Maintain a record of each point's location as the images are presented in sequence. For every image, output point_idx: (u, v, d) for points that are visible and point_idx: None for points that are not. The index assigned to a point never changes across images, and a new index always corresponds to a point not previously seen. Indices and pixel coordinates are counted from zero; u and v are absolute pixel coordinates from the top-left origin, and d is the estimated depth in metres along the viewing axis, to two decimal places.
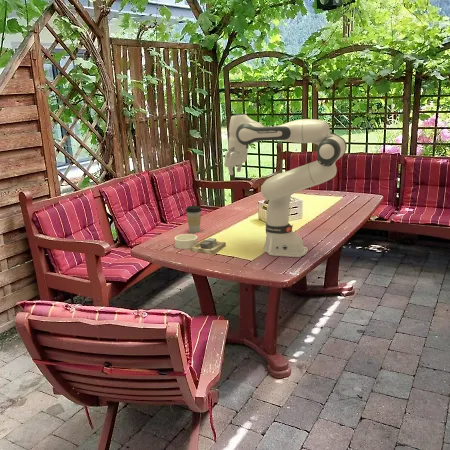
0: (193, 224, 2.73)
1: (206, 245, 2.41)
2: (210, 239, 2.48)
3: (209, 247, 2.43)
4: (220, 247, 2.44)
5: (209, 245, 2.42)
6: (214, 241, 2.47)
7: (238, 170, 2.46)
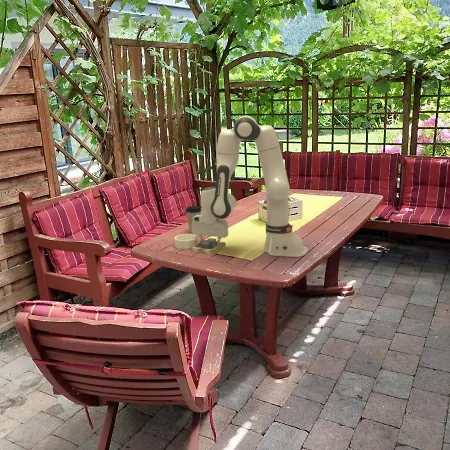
0: None
1: (206, 245, 2.41)
2: (210, 239, 2.48)
3: (209, 247, 2.43)
4: (220, 247, 2.44)
5: (209, 245, 2.42)
6: (214, 241, 2.47)
7: (203, 240, 2.50)
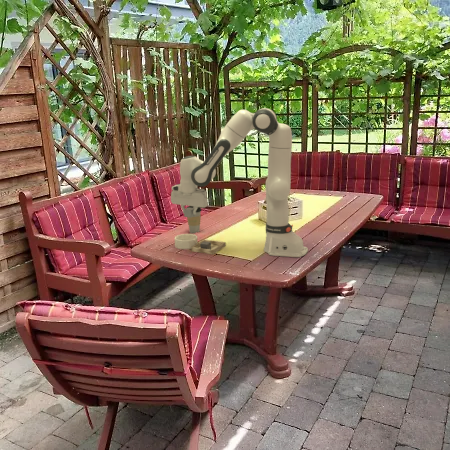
0: (193, 224, 2.73)
1: (206, 245, 2.41)
2: (188, 208, 2.46)
3: (209, 247, 2.43)
4: (220, 247, 2.44)
5: (209, 245, 2.42)
6: (192, 210, 2.45)
7: None
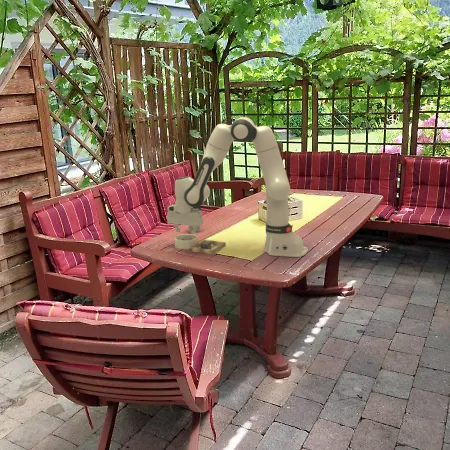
0: None
1: (206, 245, 2.41)
2: (185, 238, 2.51)
3: (209, 247, 2.43)
4: (220, 247, 2.44)
5: (209, 245, 2.42)
6: None
7: (179, 230, 2.52)
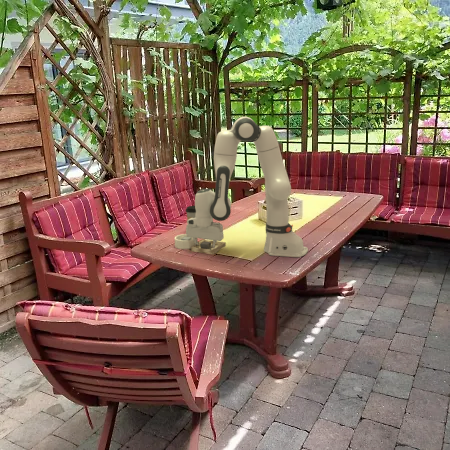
0: None
1: (206, 245, 2.41)
2: (185, 238, 2.51)
3: (209, 247, 2.43)
4: (220, 247, 2.44)
5: (209, 245, 2.42)
6: None
7: (198, 244, 2.45)
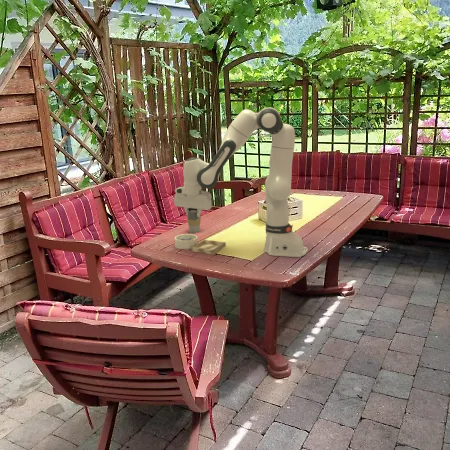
0: (193, 224, 2.73)
1: (194, 213, 2.40)
2: (185, 238, 2.51)
3: None
4: (220, 247, 2.44)
5: None
6: None
7: None
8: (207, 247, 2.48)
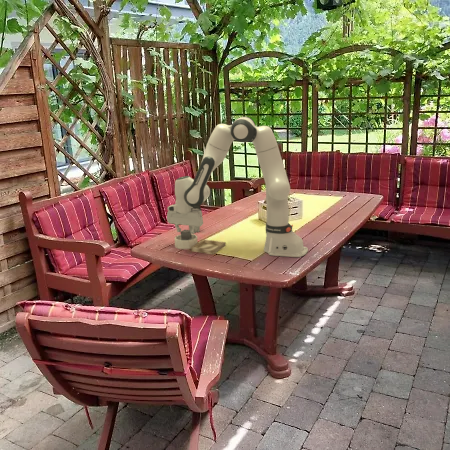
0: None
1: (186, 233, 2.48)
2: None
3: (189, 235, 2.50)
4: (220, 247, 2.44)
5: (189, 233, 2.50)
6: None
7: (180, 230, 2.52)
8: (207, 247, 2.48)
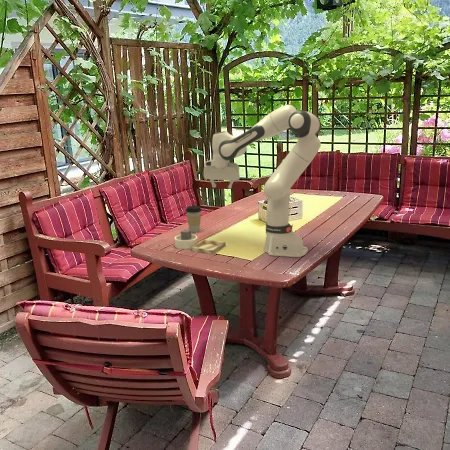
0: (193, 224, 2.73)
1: (186, 233, 2.48)
2: None
3: (189, 235, 2.50)
4: (220, 247, 2.44)
5: (189, 233, 2.50)
6: None
7: (215, 185, 2.57)
8: (207, 247, 2.48)
